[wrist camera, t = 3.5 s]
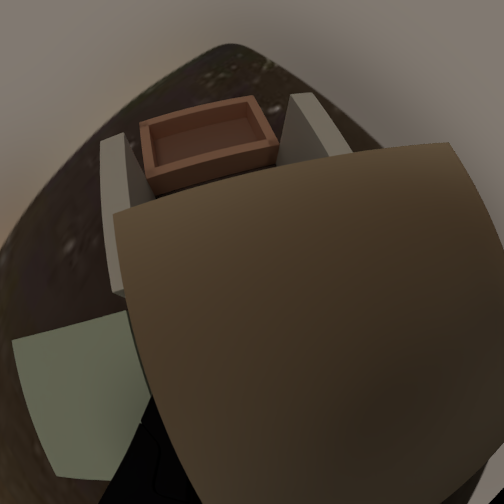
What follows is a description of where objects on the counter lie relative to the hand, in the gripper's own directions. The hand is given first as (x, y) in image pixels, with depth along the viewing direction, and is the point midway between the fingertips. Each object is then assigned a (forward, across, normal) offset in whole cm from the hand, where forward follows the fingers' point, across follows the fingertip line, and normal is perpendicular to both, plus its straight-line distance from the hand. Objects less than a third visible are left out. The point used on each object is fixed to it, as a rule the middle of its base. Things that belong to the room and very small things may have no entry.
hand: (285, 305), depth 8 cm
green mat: (+3, +12, +6) cm, 14 cm away
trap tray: (+13, 0, -4) cm, 13 cm away
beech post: (+4, 0, +6) cm, 7 cm away
